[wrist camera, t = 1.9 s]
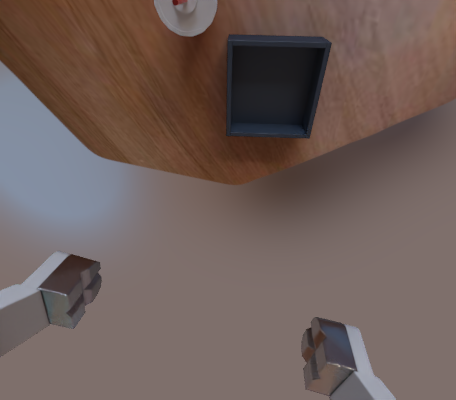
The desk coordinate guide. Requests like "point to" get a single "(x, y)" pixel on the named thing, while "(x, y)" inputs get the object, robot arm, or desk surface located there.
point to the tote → (274, 84)
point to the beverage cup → (186, 15)
